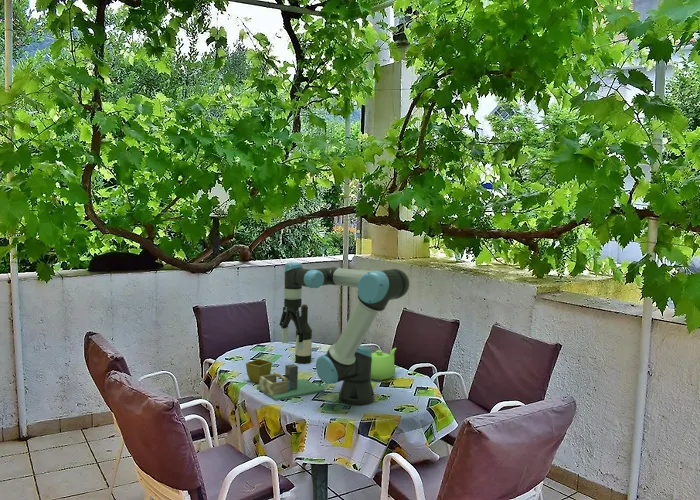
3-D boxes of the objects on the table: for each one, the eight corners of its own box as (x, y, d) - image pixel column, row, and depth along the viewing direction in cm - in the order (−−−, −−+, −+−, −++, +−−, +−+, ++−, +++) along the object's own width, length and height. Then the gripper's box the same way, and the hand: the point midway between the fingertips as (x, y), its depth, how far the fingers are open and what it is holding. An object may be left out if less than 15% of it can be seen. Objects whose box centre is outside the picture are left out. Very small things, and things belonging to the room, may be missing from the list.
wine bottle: (314, 361, 309) (315, 304, 306) (304, 365, 302) (306, 307, 299) (301, 358, 313) (303, 302, 311) (291, 362, 306) (293, 305, 304)
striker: (297, 388, 260) (298, 366, 259) (287, 390, 257) (287, 368, 256) (292, 385, 264) (292, 363, 263) (282, 387, 261) (282, 365, 261)
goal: (287, 393, 256) (288, 378, 255) (271, 396, 251) (271, 381, 251) (275, 385, 266) (275, 371, 265) (259, 388, 261) (259, 374, 261)
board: (324, 391, 261) (324, 389, 261) (275, 400, 248) (275, 398, 248) (304, 380, 276) (304, 378, 276) (256, 388, 263) (256, 386, 263)
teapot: (384, 369, 299) (385, 344, 297) (406, 376, 288) (407, 350, 287) (352, 377, 284) (353, 350, 282) (375, 385, 273) (376, 357, 272)
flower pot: (259, 385, 267) (259, 366, 266) (245, 382, 272) (245, 362, 271) (272, 380, 275) (272, 361, 274) (257, 377, 279) (258, 358, 278)
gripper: (314, 301, 249) (313, 351, 251) (287, 293, 270) (286, 339, 272) (299, 303, 245) (298, 353, 247) (272, 294, 266) (271, 341, 268)
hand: (292, 346), depth 259 cm, fingers open, 13 cm apart
